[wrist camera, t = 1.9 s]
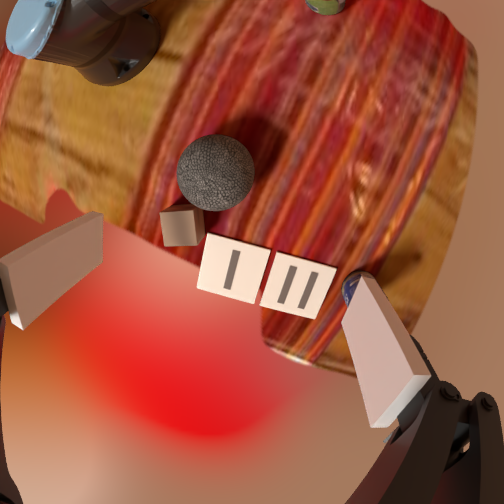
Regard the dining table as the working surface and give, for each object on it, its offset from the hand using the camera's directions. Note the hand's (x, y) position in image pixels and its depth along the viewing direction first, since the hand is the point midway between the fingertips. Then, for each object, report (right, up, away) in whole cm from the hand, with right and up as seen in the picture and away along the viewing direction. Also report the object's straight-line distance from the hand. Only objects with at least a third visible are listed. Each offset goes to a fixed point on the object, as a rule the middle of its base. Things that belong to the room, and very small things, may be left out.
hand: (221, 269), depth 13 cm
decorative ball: (-3, +13, +26) cm, 29 cm away
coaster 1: (-2, -2, +32) cm, 32 cm away
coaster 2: (+9, -5, +32) cm, 34 cm away
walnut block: (-8, +6, +30) cm, 31 cm away
